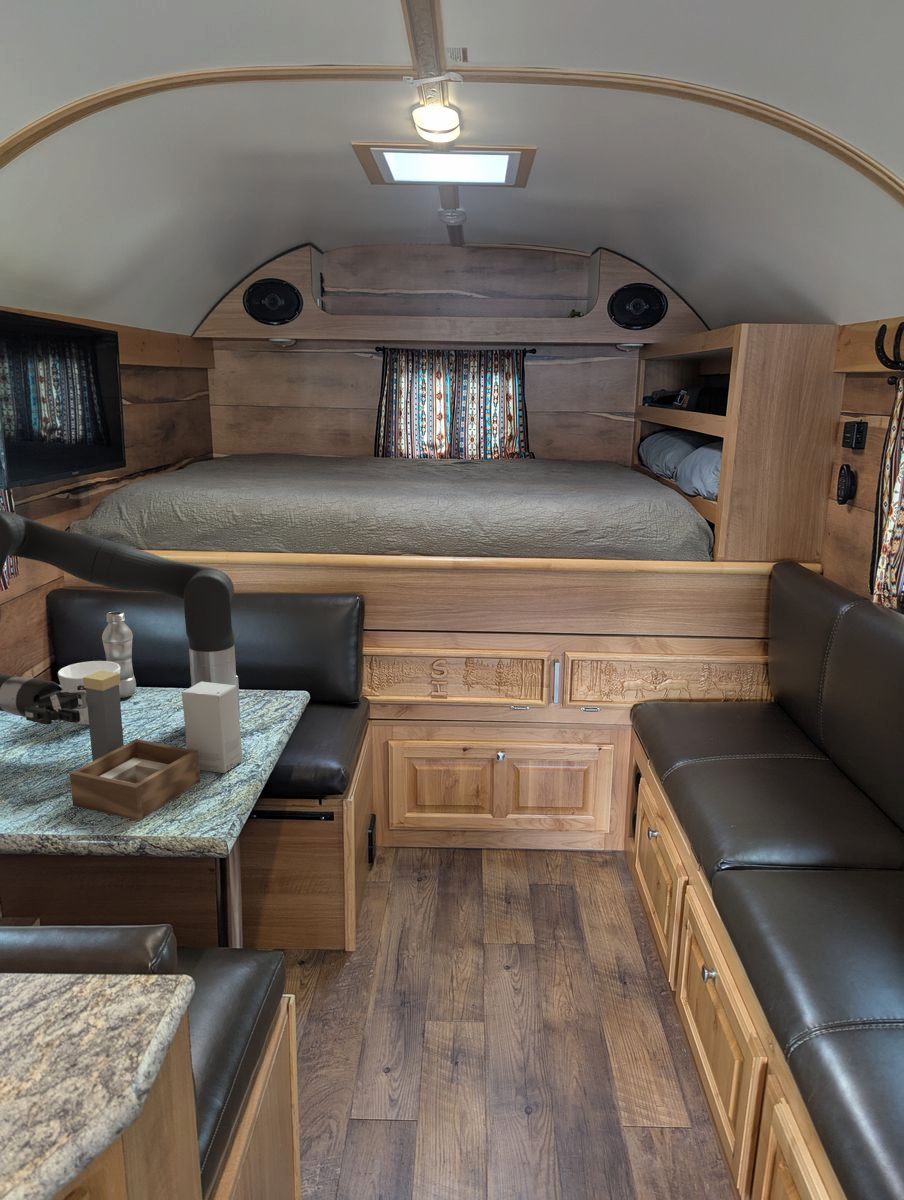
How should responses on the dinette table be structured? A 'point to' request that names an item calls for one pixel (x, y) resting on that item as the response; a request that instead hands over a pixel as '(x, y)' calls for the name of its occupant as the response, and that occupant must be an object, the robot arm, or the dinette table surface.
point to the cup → (74, 677)
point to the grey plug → (104, 712)
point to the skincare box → (213, 725)
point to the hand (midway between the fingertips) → (96, 709)
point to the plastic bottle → (120, 650)
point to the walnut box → (135, 779)
